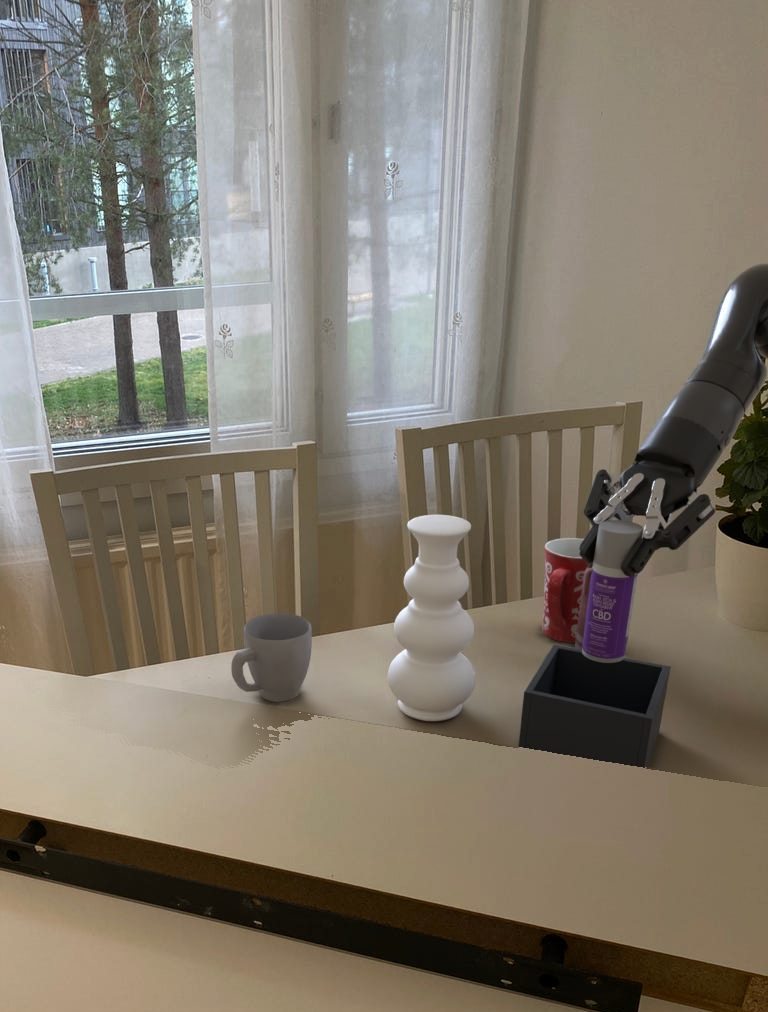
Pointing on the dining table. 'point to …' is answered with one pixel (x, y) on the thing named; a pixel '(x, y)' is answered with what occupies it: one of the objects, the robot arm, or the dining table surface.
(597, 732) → the bin
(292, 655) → the mug
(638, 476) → the robot arm
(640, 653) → the dining table surface
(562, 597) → the mug
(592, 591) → the container
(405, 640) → the vase
